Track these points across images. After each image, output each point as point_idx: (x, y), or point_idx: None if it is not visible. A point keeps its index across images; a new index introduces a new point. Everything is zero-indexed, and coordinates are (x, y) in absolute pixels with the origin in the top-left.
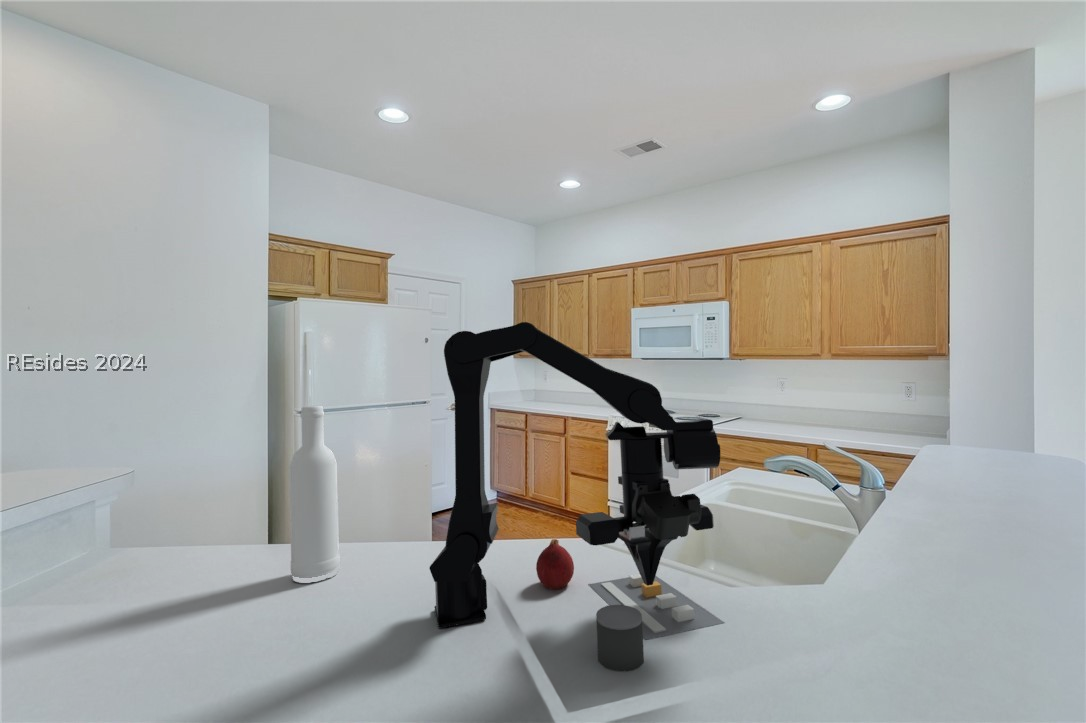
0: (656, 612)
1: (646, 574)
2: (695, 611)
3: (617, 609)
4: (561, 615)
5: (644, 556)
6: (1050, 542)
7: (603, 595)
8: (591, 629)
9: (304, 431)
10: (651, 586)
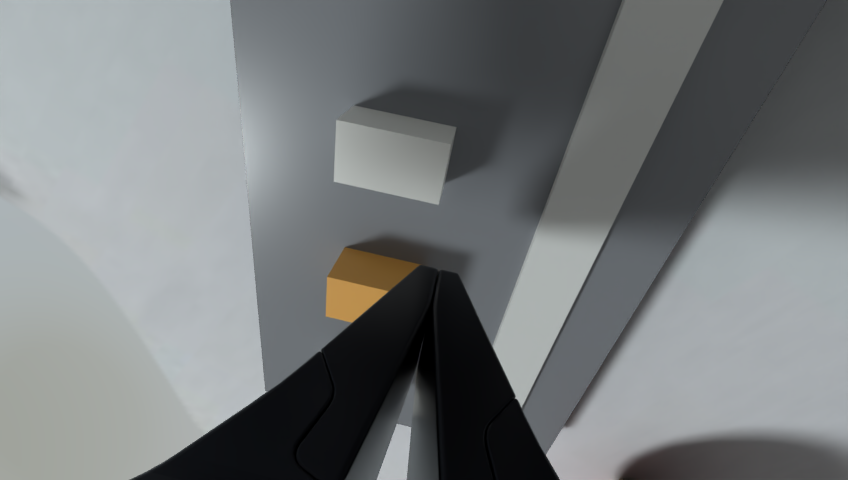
0: (513, 109)
1: (470, 318)
2: None
3: None
4: (786, 379)
5: (500, 467)
6: None
7: (573, 379)
8: (831, 227)
9: None
10: (386, 290)
